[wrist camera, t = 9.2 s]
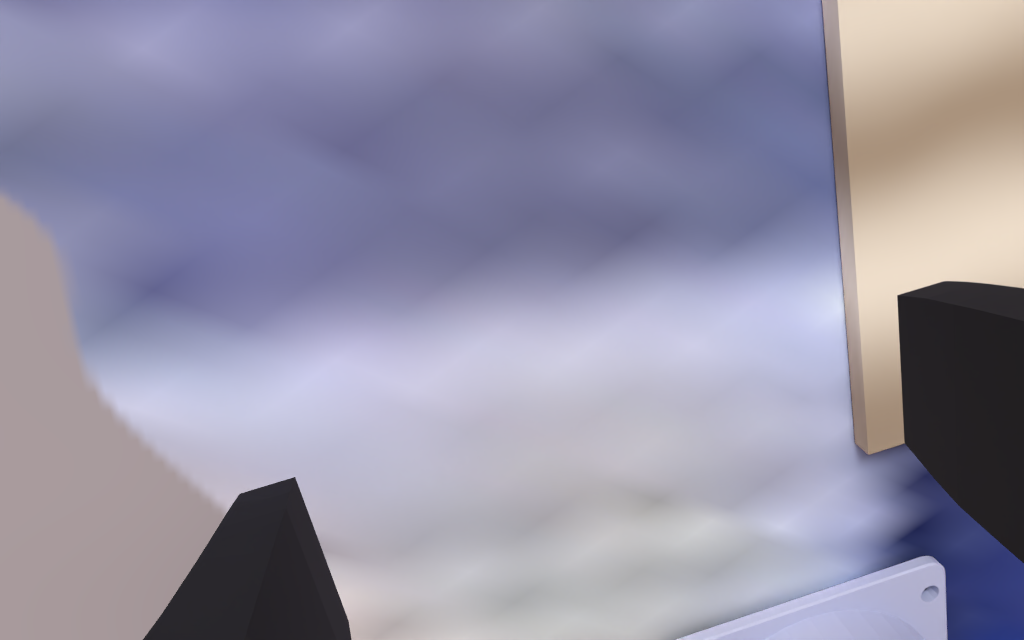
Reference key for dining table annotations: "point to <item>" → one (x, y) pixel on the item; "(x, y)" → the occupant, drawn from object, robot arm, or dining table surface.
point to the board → (921, 170)
